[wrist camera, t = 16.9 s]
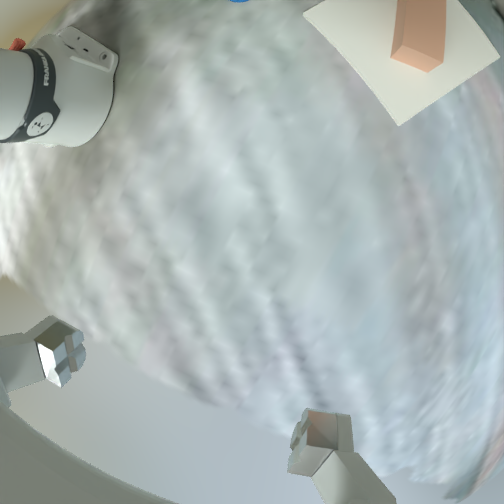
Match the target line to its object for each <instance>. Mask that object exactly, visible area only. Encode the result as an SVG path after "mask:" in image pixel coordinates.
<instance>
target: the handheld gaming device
mask: <svg viewBox="0 0 504 504" xmlns="http://www.w3.org/2000/svg"><path fill="white" fill-rule="evenodd" d="M230 1H233V2H245V1H248V0H230Z"/></svg>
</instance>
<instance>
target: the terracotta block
mask: <svg viewBox="0 0 504 504" xmlns="http://www.w3.org/2000/svg"><path fill="white" fill-rule="evenodd" d="M445 34H446V0H398V1H397V11H396V20H395V28H394V36H393V43H392V50H391V57H390V58H391V59H394V60H397V61H399V62H402V63H405V64H407V65H410V66H412V67H415V68H417V69H419V70H422V71H424V72H426V73H428V72H429V71H431V70H433V69H434V68H436V67H437V66H439V65H441V64H442V63H443V61H444V49H445Z"/></svg>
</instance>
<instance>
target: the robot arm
mask: <svg viewBox="0 0 504 504" xmlns="http://www.w3.org/2000/svg"><path fill="white" fill-rule="evenodd" d="M25 44H26V43H25V42H24V41H23V40H22V39H19V38H18V39H17V38H16V39H15V40H14V41H13V44H12V45H11V47H10V48H9V49H2V48H0V143H13V142H23V143H37V144H43V146H44V147H48V148H51V147H54V146H57V145H62V146H67V147H76V146H80V145H82V144H84V143H86V142H87V141H89V140H90V139H91V138H92V137H93V136H94V135H95V134H96V133H97V132H98V131H99V129H100V128H101V126H102V125H103V123H104V121H105V119H106V117H107V115H108V112H109V110H110V106H111V103H112V97H113V76H114V72H115V70H116V67H117V64H118V55H117V54H116V53H114V52H113V51H111V50H110V49H108V48H107V47H105V46H104V45H102V44H101V43H99V42H97V41H96V40H94V39H93V38H91V37H89V36H88V35H86V34H85V33H83V32H81V31H80V30H78V29H76V28H75V27H71V26H69V27H67V28H65V29H63V30H62V31H61V32H59V33H58V34H57V35H52V34H47V35H44V36H43V37H41V38H40V39H38V40H37V41H36V42H35V43H34V44H33V46H32V47H31V48H30V49H23V50H21V49H22V48H23V47H24V46H25ZM106 56H107V57H106ZM105 57H106V59H105ZM83 341H84V336H83V332H81V331H80V330H78V329H76V328H75V327H73V326H71V325H69V324H67V323H66V322H64V321H62V320H60V319H58V318H56V317H55V316H48V317H47V318H45V319H44V320H43V321H41V322H40V323H39V324H37V325H36V326H34V327H33V328H32V329H30V330H29V331H28V332H26V333H25V334H23V333H16V334H10V335H4V336H0V504H178V503H175V502H173V501H170V500H167V499H165V498H162V497H159V496H156V495H154V494H152V493H149V492H146V491H144V490H142V489H140V488H137V487H135V486H133V485H131V484H128V483H126V482H124V481H122V480H120V479H118V478H116V477H114V476H112V475H110V474H107V473H106V472H104V471H102V470H100V469H98V468H96V467H95V466H93V465H91V464H89V463H87V462H86V461H84V460H82V459H80V458H79V457H77V456H75V455H74V454H72V453H70V452H69V451H67V450H66V449H64V448H62V447H61V446H59V445H58V444H56V443H55V442H53V441H52V440H50V439H49V438H47V437H46V436H45V435H43V434H42V433H40V432H39V431H38V430H36V429H35V428H33V427H32V426H31V425H30V424H28V423H27V422H26V421H24V420H23V419H22V418H20V417H19V416H18V415H17V414H16V413H14V412H13V411H12V410H11V409H9V407H10V406H11V400H10V398H9V396H8V394H7V393H8V392H11V391H14V390H16V389H19V388H22V387H25V386H28V385H31V384H33V383H36V382H39V381H42V380H44V379H45V378H46V379H48V380H49V381H51V382H53V383H54V384H56V385H58V386H59V387H63V386H64V385H65V384H66V383H67V382H68V381H69V380H70V379H71V373H72V372H75V371H78V370H79V369H80V368H81V367H82V365H83V363H84V361H85V357H86V352H85V348H84V346H83V344H82V342H83ZM290 448H291V449H292V451H293V452H292V453H291V455H290V456H289V462H288V470H287V473H291V474H297V475H302V476H309V477H311V479H312V481H313V483H314V485H315V486H316V488H317V490H318V492H319V494H320V496H321V498H322V500H323V501H324V503H325V504H396V498H395V497H394V496H393V495H392V493H391V492H390V491H389V490H388V489H387V487H386V486H385V485H384V484H383V483H382V482H381V480H380V479H379V478H378V477H377V475H376V474H375V473H374V472H373V471H372V469H371V468H370V467H369V466H368V464H367V463H366V462H365V461H364V460H363V458H362V457H361V456H360V455H359V453H355V452H354V445H353V434H352V424H351V417H350V415H346V414H339V413H333V412H327V411H321V410H316V409H310V408H306V409H305V410H304V412H303V414H302V419H301V421H300V422H298V423H297V425H296V427H295V429H294V431H293V434H292V438H291V444H290Z"/></svg>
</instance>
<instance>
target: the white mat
mask: <svg viewBox="0 0 504 504" xmlns="http://www.w3.org/2000/svg"><path fill="white" fill-rule="evenodd" d="M397 1H398V0H325V1H323V2H321V3H319V4H318V5H316V6H314V7H312V8H311V9H309V10H307V11H305V12H304V13H303V16H304V17H305V18H306V19H307V20H308V21H309V22H310V23H311V24H312V25H313V26H314V27H315V28H316V29H317V30H318V31H319V32H320V33H321V34H322V35H323V36H324V37H325V38H326V39H327V40H328V41H329V42H330V43H331V44H332V45H333V46H334V47H335V48H336V49H337V50H338V51H339V52H340V54H341V55H342V56H343V57H344V58H345V59H346V60H347V61H348V63H349V64H350V65H351V66H352V67H353V68H354V69H355V71H356V72H357V73H358V74H359V75H360V77H361V78H362V79H363V80H364V81H365V83H366V84H367V85H368V86H369V88H370V89H371V90H372V91H373V93H374V94H375V95H376V97H377V98H378V99H379V101H380V102H381V103H382V105H383V106H384V107H385V109H386V110H387V111H388V113H389V114H390V116H391V117H392V118H393V120H394V121H395V123H396V124H397V125H398V126H400V125H401V124H403V123H404V122H406V121H407V120H409V119H410V118H411V117H413V116H414V115H416V114H417V113H419V112H420V111H422V110H423V109H424V108H426V107H427V106H429V105H430V104H432V103H433V102H435V101H436V100H438V99H439V98H441V97H442V96H443V95H445V94H446V93H448V92H449V91H451V90H452V89H454V88H455V87H457V86H458V85H460V84H461V83H463V82H464V81H466V80H467V79H469V78H470V77H472V76H473V75H475V74H476V73H477V72H479V71H480V70H482V69H483V68H485V67H486V66H488V65H490V64H491V63H493V62H494V61H496V60H497V59H499V58H500V55H499V54H498V52H497V51H496V49H495V48H494V46H493V45H492V43H491V42H490V41H489V39H488V38H487V36H486V35H485V34H484V32H483V31H482V30H481V28H480V27H479V26H478V24H477V23H476V22H475V20H474V19H473V18H472V17H471V15H470V14H469V13H468V12H467V11H466V9H465V8H464V7H463V6H462V5H461V3H460V2H459V1H458V0H446V34H445V49H444V61H443V63H442V64H441V65H439V66H437V67H436V68H434V69H433V70H431V71H429V72H428V73H426V72H424V71H422V70H419V69H417V68H415V67H412V66H410V65H407V64H405V63H402V62H399V61H397V60H394V59H391V58H390V57H391V50H392V43H393V36H394V28H395V20H396V11H397Z"/></svg>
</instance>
